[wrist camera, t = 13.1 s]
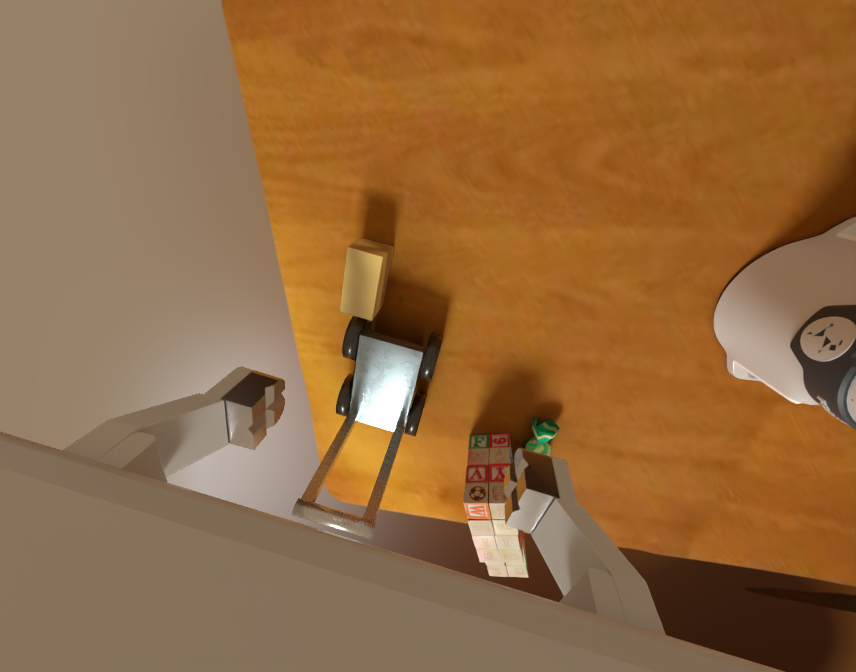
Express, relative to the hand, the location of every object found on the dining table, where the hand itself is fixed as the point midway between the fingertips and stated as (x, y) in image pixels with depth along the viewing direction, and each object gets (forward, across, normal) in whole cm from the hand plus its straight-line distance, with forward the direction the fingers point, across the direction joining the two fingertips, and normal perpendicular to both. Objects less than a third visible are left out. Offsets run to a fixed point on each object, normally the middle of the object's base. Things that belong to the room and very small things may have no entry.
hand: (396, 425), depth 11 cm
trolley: (+31, +5, +20) cm, 37 cm away
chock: (+31, +10, +7) cm, 34 cm away
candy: (+32, -19, +28) cm, 46 cm away
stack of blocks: (+32, -16, +37) cm, 51 cm away
